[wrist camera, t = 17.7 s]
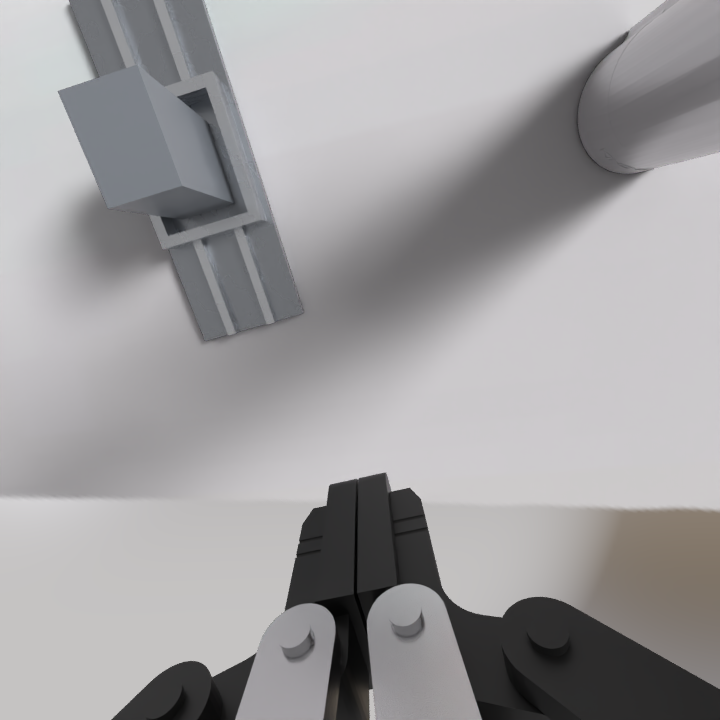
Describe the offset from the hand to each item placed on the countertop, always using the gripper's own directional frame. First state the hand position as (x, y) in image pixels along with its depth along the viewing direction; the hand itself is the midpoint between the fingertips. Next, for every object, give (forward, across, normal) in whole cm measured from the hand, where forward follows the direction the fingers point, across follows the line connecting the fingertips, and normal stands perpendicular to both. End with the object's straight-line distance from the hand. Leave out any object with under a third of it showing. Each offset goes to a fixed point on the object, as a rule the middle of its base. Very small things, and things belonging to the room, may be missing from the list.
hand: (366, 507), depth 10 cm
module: (+25, +10, -15) cm, 31 cm away
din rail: (+26, +10, -15) cm, 31 cm away
